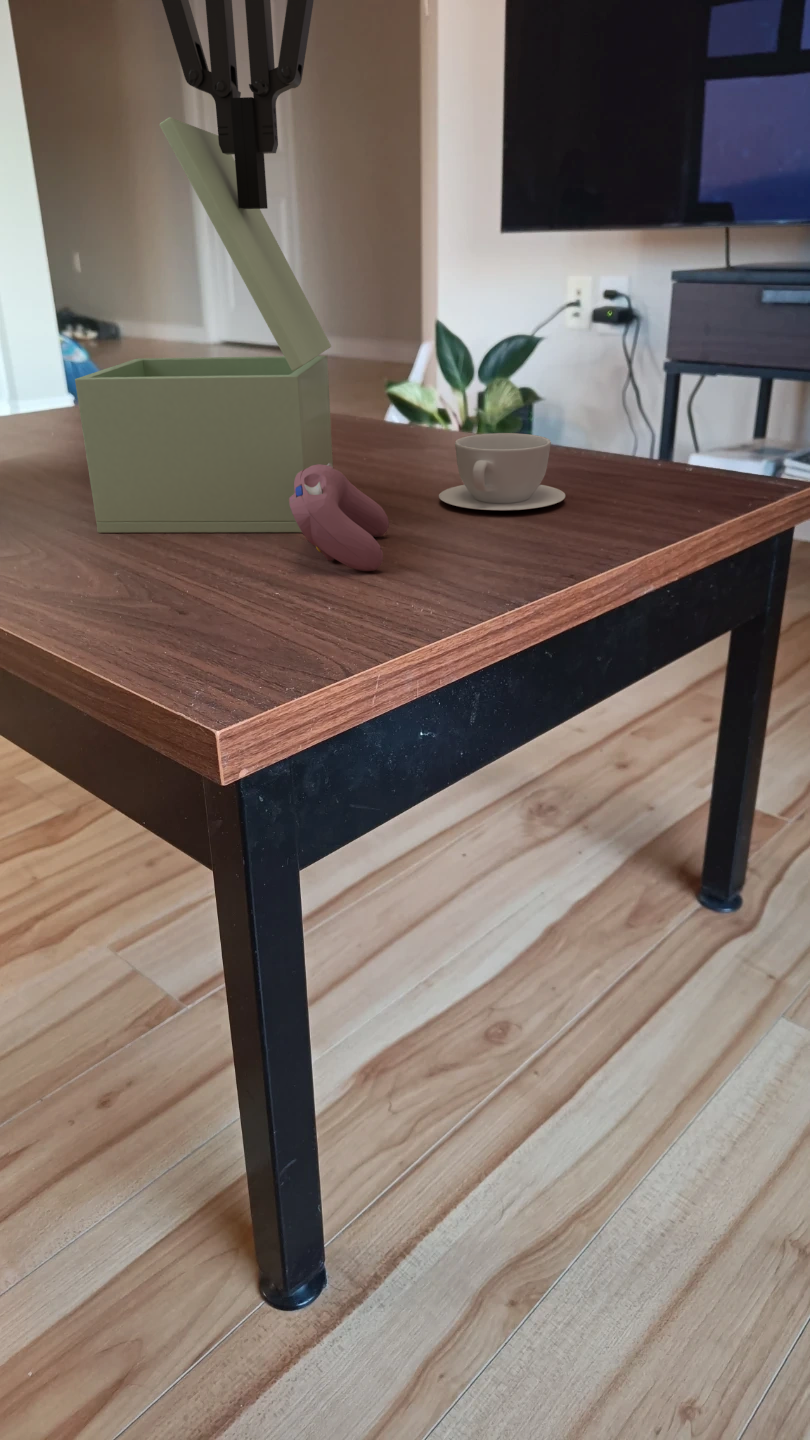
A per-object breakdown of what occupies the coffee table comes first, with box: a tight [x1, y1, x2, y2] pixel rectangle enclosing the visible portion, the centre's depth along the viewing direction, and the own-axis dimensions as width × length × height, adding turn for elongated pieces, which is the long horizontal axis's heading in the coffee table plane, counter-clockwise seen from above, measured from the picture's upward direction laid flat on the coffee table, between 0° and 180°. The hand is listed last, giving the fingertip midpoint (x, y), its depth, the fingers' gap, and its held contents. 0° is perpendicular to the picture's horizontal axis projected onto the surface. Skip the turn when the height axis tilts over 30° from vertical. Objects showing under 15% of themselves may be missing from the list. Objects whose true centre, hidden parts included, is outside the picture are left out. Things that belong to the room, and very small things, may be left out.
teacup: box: [438, 432, 566, 511], centre depth 81 cm, size 10×10×5 cm
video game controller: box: [289, 463, 390, 572], centre depth 68 cm, size 10×5×7 cm, turn 178°
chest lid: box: [159, 117, 332, 371], centre depth 73 cm, size 16×14×1 cm
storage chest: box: [74, 355, 334, 534], centre depth 79 cm, size 16×14×11 cm
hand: (253, 207), depth 72 cm, fingers closed
